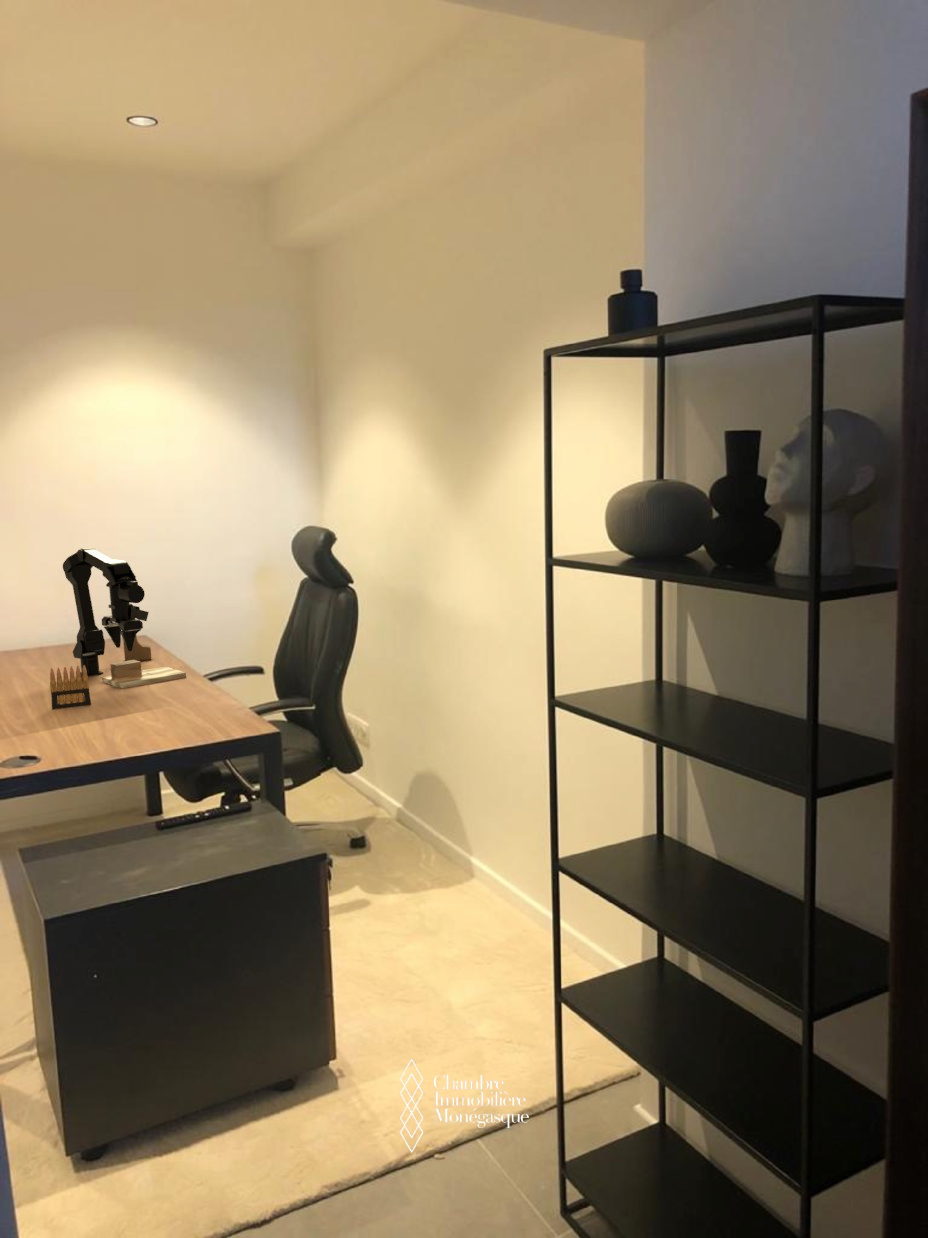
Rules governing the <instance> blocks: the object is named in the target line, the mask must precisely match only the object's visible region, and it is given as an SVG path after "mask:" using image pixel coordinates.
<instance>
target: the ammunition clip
mask: <svg viewBox="0 0 928 1238" xmlns="http://www.w3.org/2000/svg"><path fill="white" fill-rule="evenodd" d="M80 672H81V668H80V666H79V665H77V666H76V670H75V671H74V668H73V666H70V668H69V673H68V669H67V667H66V666H64V667H63V673H61V669H60V668H59V667H57V670H56V676H55V672H54V669H53V668H50V673H49V676H50V677H49V680H50V681H49V684H50V685H49V686H50V696H51V709H52V710H53V711H54V710H61V709H68V708H69V709H70V708H77V707H78V708H79V707H88V706H92V699H91V693H90V685H89V684H90V683H89V678H88V677H89V676H87V671H86V667H85V665H83V676H82V675H81V673H80ZM62 674H63V675H62ZM75 674H76V675H75ZM62 677H63V678H62Z"/></svg>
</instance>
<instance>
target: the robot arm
mask: <svg viewBox="0 0 928 1238" xmlns="http://www.w3.org/2000/svg"><path fill="white" fill-rule="evenodd" d="M93 567H94V568H96V569H97V570H99V571H101V572H102V576H103V577H104V578H105V579H106V580H107V581H108V582H107V583H106V585H105V586H106V587H107V588H108V589H109V598H110V599H109V600H110V604H108V608H109V609H110V611H111V615H105V616H103V618H101V626H103V629H105V631H106V633H107V635H108V636H109V637H110V639H111V640H112V642H113V645H114V646H115V647H116V648H117V649H118V648H121V640H122V641H123V640H124V642H125V645H126V647H127V649H128V651H132V648H133V643H134V639H135V635H136V636H137V634H138V633H139V632H141V630H142V629H143V628H144V625H143V621H144V622H148V621H147V620H148V617H149V611H145V610H142V609H141V608H140V606H136V605H134V604H139V603H141V602H142V601H143V600H144V599H145V590H144V588H143V586H141V585H139V583H138V580H137V578H136V577H137V576H136V575H135V573H134V572H133V570H132V568H131V566H130V564H129V563H128V562H127V561H125V560H122V559H114V558H113V559H112V558H110V557H109V556H107V555H105V554H103V553H101V552H99V551H97V550H96V548H93V547H84V548H80V549H78V550H77V551H76V552H75V553H72V554H71V555H69V556H68V557H67V558H66V559H65V560H64V561H63V563H62V569H63V570H62V571H63V572H64V576H65V579H66V580H67V581H68V582H69V583H70V584H71V585H72V589H73V595H74V600H75V601H74V602H75V607H76V611H77V617H78V622H79V630H78V631H77V634H76V643H75V646H74V648H73V650H72V654H73V658H74V659H78V660H79V659H80V660H79V661H80V673H81V677H83V665H85V667H86V671H87V677H91V676H98V675H102V674H104V671H101V670H100V663H99V662H100V661H99V656H105V649H106V648H105V647H106V640H105V636H104V631H103V630H102V629H100V628H98V626H97V625H96V622H95V621H96V620H95V614H94V609H93V604H92V598H91V593H90V592H91V591H90V587H89V586H90V585H89V581H90V578H91V576H92V568H93ZM132 603H133V604H132Z"/></svg>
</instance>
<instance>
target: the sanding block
mask: <svg viewBox="0 0 928 1238" xmlns="http://www.w3.org/2000/svg"><path fill="white" fill-rule="evenodd" d="M109 666H110V673H111V674H110V676H111V677H112V679H114V680H116V681H121V680H127V679H132V678H138V677H142V662H141V660H140V661H137V660H129V661H125V660H124V661H118V662H111V663H109Z"/></svg>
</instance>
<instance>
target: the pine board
mask: <svg viewBox="0 0 928 1238" xmlns="http://www.w3.org/2000/svg"><path fill="white" fill-rule="evenodd" d="M141 671H142V677H138V678H132V679H127V680H121V681H116V680H114V679H112V677H111V675H108V676H101V680H102V682H103V683H106V684H108V685H110V686H112V687H116V688H118V689H127V688H133V687H138V686H144V685H150V684H154V683H160V682H165V681H173V680H177V679H183V678H187V672H185V671H182V670H179V669H175V668H171V667H169V666H161V667H154V668H149V669H143V670H142V669H141Z"/></svg>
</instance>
